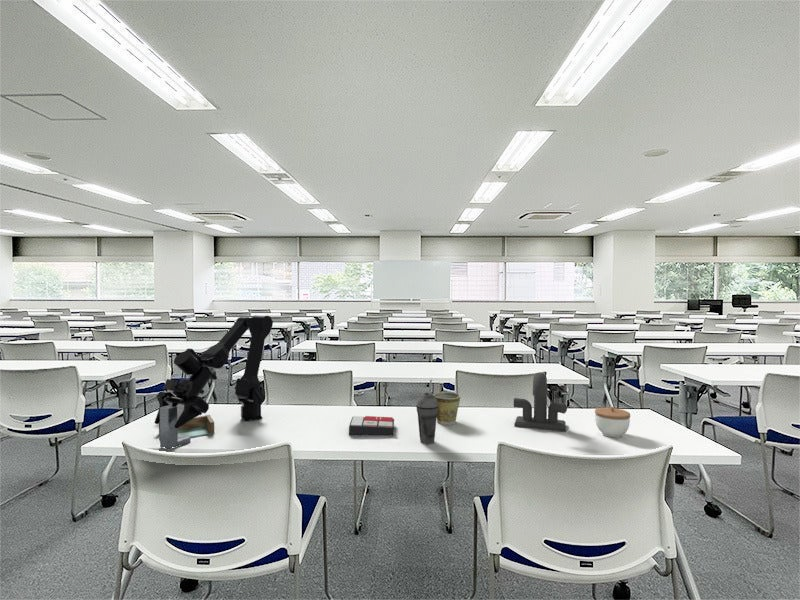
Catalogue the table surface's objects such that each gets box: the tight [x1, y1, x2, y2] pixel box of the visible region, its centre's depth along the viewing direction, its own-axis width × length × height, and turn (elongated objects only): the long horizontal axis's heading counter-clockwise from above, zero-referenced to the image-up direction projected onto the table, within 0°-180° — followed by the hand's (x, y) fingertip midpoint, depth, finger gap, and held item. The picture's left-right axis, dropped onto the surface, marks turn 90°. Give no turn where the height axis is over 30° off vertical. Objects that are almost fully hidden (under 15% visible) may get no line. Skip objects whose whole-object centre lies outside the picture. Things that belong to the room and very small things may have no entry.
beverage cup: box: [415, 379, 439, 445], centre depth 140 cm, size 7×7×20 cm
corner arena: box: [158, 414, 215, 439], centre depth 148 cm, size 16×10×4 cm, turn 122°
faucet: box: [513, 372, 568, 433], centre depth 153 cm, size 18×16×20 cm
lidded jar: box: [594, 406, 631, 439], centre depth 147 cm, size 11×11×9 cm
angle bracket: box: [159, 405, 191, 450], centre depth 137 cm, size 8×4×12 cm, turn 154°
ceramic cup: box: [432, 391, 461, 426], centre depth 162 cm, size 13×10×10 cm
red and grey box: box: [348, 415, 395, 437], centre depth 151 cm, size 11×4×15 cm
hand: (165, 425), depth 134 cm, fingers open, 9 cm apart
